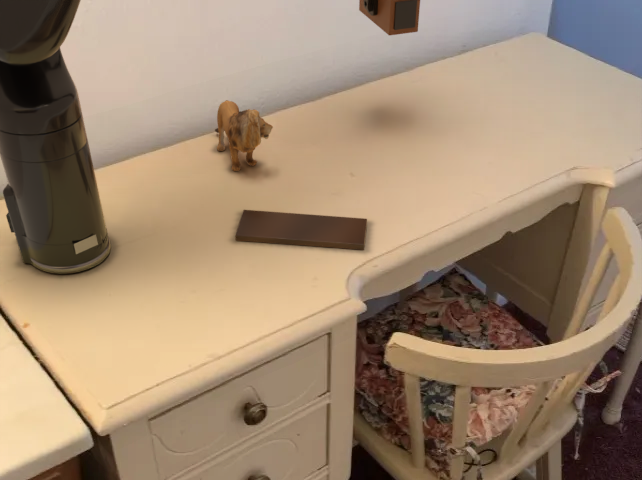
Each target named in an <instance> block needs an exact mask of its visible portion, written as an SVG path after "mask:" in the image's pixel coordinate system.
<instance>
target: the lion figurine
mask: <svg viewBox="0 0 642 480" xmlns="http://www.w3.org/2000/svg"><path fill="white" fill-rule="evenodd" d="M216 122H217V128H214V132H216V134H218V142H217V146H216V150H217V152H223V151H225V149H226V146H225V135H226V138H227V140H228V145H229V152H230V159H231V170H232V171H233V172H239V171H241V163H240V161H239V151H240V153H243V154H246V155H245V162H246V163H247V165H249V166H250V167H254V166H256V165H257V164H258V161H257V160H256V159H254V158H253V154H254V151H255V150H256V148H257V147H258V146H260V145H261V144H262V138H263V139H265V140H268V139H269V137H270V134H271V133H272V131H273V128H274V126H273V125H272V124H270V123H268V122H267V121H265V119H264V118H263V117H261V116H260V111H258V110H257V109H250V108H248V109H244V110H242V111H241V110H240V109H239V106H238V104H237V103H236V102H234V101H232V100H224V101H222V102H221V103H220V104H219V106H218V109H217V116H216Z"/></svg>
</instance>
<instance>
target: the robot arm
mask: <svg viewBox="0 0 642 480" xmlns="http://www.w3.org/2000/svg"><path fill="white" fill-rule="evenodd" d="M80 3H81V0H0V160H1V163H2V167H3V170H4V174H5V177H6V181H7V183H6V185H5V187H4V188H3V190H2V195H3V200H4V202H5V203H4V204H5V205H6V209H7V213H6V214H5V216H6V220H7V223H8V227H9V230H10V233H14V235H15V239H16V244H17V246H18V249H19V252H20V256H21V259H22V262H23V263H24V264H30V265H32V266H34V267H35V268H36V269H38V270H40V271H43V272H46V273H51V274H60V275H62V274H65V275H66V274H74V273H79V272H84V271H88V270H90V269H91V268H94V267H96V266H97V265H99V264H101V263H102V262H103V261H105V260H106V259H107V257H108V256H109V255H110V253H111V241H110V237H109V233H108V230H107V229H108V228H107V227H106V222H105V215H104V211H103V206H102V202H101V197H100V191H99V187H98V182H97V177H96V173H95V168H94V163H93V158H92V154H91V149H90V145H89V139H88V135H87V130H86V125H85V121H84V115H83V110H82V105H81V100H80V96H79V92H78V89H77V86H76V83H75V82H74V80H73V77H72V75H71V73H70V71H69V69H68V67H67V63H66V61H65V59H64V55H63V53H62V50H61V47H62V45H63V44H64V43H65V41H66V39H67V37H68V35H69V33H70V30H71V28H72V26H73V23H74V21H75V18H76V14H77V13H78V9H79V6H80ZM363 5H364V8H365V9H366V10H367V12H368V13H369V14H370V15H371V16H375V15H377V13H378V0H364V4H363Z"/></svg>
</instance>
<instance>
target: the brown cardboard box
mask: <svg viewBox="0 0 642 480" xmlns="http://www.w3.org/2000/svg"><path fill="white" fill-rule="evenodd" d="M358 3H359V5H358V11H359V12H360V13H362V14H363V16H364V17H365V16H366V18H368V19H369V20H370V21H371V22H372V23H374V25H376V26H377V27H379V28H380V29H381V30H382V31H383V32H384V33H385V34H387V35H388V36H397V35H403V34H411V33H418V31H419V20H420V7H421V0H378V13H377V15H375V16H371V15H370V14H369V13H368V12H367V10H366V9H365V8H364V5H363V4H364V0H359V2H358Z"/></svg>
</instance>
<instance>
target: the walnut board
mask: <svg viewBox="0 0 642 480" xmlns="http://www.w3.org/2000/svg"><path fill="white" fill-rule="evenodd" d="M367 227H368V218H362V217H347V216H336V215H335V216H334V215H321V214H308V213H295V212H281V211H280V212H278V211H268V210H267V211H266V210H254V209H243V210H242V213H241V217H240V220H239V223H238V226H237V229H236V232H235V234H234V238H235V241H238V242H252V243H265V244H266V243H267V244H281V245H292V246H293V245H294V246H306V247H319V248H320V247H321V248H332V249H333V248H335V249H346V250H362V251H364V250H365V244H366V236H367V235H366V234H367Z"/></svg>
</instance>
